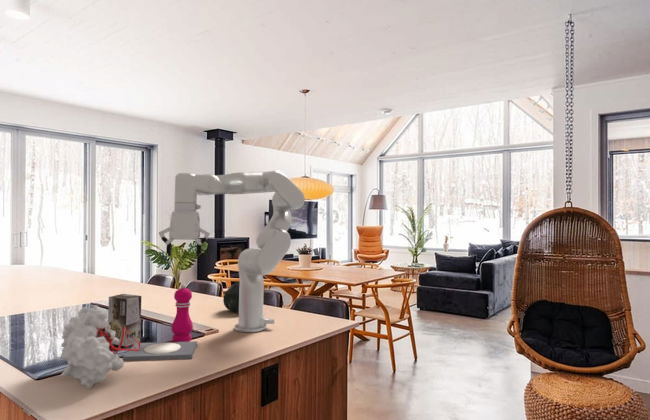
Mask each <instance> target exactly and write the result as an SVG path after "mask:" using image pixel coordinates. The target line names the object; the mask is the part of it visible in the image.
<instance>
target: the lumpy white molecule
mask: <svg viewBox="0 0 650 420" xmlns="http://www.w3.org/2000/svg"><path fill="white" fill-rule="evenodd" d="M77 315H78V316H77ZM77 315H75V316H71V317H70V318H69V323H68V324H65V325H64V327H63V329H64V330H63V331H62V337H61V338H62V340H63V342H62V343H61V345H60V346H61V347H62V349H61V355H60V357H61V359H62V360H63V361H65V362H67V366H66V367H65V369H64V371H63V372H62V373H61V377H63V378H64V377H67V376H71V377H73V378H74V379H75V380H76V379H78V380H80V385H81V386H83V387H84V386H86V387H87V388H88V389H90V388H92V387H93V385H95V384H96V383H98V382H104V381H106V380H107V373H108V372H109V373H110V372H111V371H114V372H118V371H119V370H121V369H123V367H124V364H125V363H124V362H125V361H123V358H122V357H120V356H119V353H118V352H119V351H127V352H128V351H138V350H139V349H140V343H142V342H141V340H140V341H139V343H138V342H137V341H136V340H135V338H134V337H133V338H134V340H135V341H136V342H137V343H138V345H139V348H138V349H136V348H135V347H134V344H132V343H131V341H130V340H129V341H130V343H131V344H132V345H131V346H133V347H134V348H135V349H131V348H129V346H126V345H125V344H124V345H125V346H126V348H121V347H122V346H121V344H122V341H123V337H124V334H125V333H124V329H125V327H123V328H122V331H123V334H122V339H121V343H120V345H117V346H118V347H116V346H114V344H112V343H113V342H115V343H119V340H118V339H117V338H116V337H115V333H116V332H115V331H114V330H110V328H111V326H110V325H109V323H108V322H107V321H106V319H107V318H108V314H106V313H103V311H102V310H101V309H99V306H98V305H97V304H96V305H93V306H92V307H87V306H83V307H81V309H80V310H79V311H78V313H77ZM125 330H126V329H125ZM126 331H127V330H126ZM127 332H128V331H127ZM128 333H129V332H128ZM129 334H131V333H129ZM125 336H126V334H125ZM126 337H127V336H126ZM123 343H124V341H123ZM125 346H124V347H125ZM115 350H116V351H115Z"/></svg>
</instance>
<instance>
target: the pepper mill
mask: <svg viewBox="0 0 650 420" xmlns="http://www.w3.org/2000/svg"><path fill="white" fill-rule="evenodd" d="M173 298H174V300H175V301H176V302H175V307H176V314H175V317H174V320H173V322H172V324H171V328H170V329H171V330H170V331H171V332H172V333H173V335H172V342H191V340H192V334H191V332H192V331H193V329H194V324H193V321H192V319H191V317H190V313H189V312H190V310H189V309H190V306H191V300H192V298H193V293H192V291H191V290H190V289H189V288H187V284H186V283H182V284H181V285H180V288H178V289H177V290H175V292H174V294H173Z"/></svg>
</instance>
